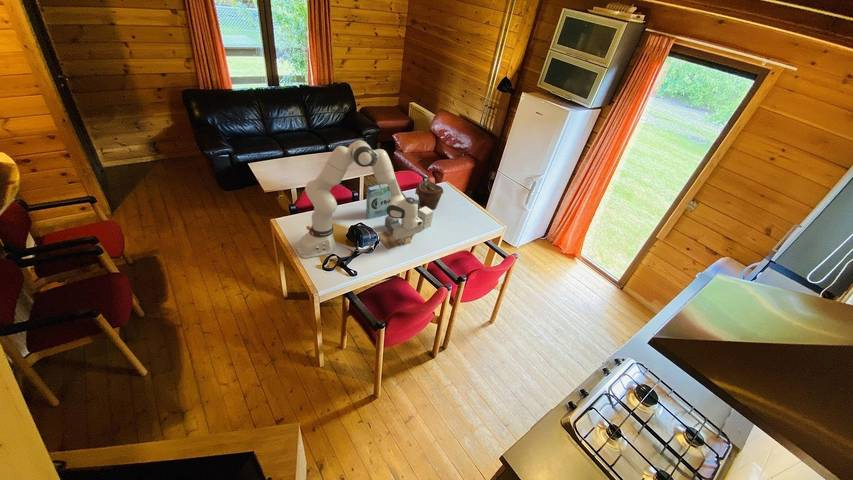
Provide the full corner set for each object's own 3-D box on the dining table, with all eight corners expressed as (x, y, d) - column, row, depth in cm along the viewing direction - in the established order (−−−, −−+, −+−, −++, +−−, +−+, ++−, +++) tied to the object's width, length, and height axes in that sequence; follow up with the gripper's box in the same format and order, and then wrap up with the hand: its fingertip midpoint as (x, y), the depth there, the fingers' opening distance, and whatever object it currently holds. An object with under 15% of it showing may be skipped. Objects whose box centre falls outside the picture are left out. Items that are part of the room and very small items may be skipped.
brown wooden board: (388, 249, 223) (388, 248, 222) (375, 235, 232) (375, 234, 232) (400, 245, 227) (400, 244, 227) (387, 231, 237) (387, 230, 237)
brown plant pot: (415, 197, 275) (418, 176, 264) (441, 202, 275) (445, 181, 264) (411, 209, 261) (414, 188, 250) (439, 215, 261) (443, 193, 250)
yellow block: (410, 242, 231) (410, 237, 228) (405, 244, 228) (405, 239, 226) (399, 232, 238) (400, 227, 235) (394, 234, 235) (395, 229, 233)
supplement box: (415, 224, 247) (418, 209, 239) (423, 221, 252) (425, 205, 244) (423, 230, 243) (426, 214, 236) (431, 226, 248) (433, 210, 240)
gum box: (390, 209, 258) (393, 181, 244) (394, 213, 254) (396, 184, 241) (365, 215, 248) (366, 186, 234) (368, 219, 245) (370, 190, 231)
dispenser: (402, 233, 237) (404, 221, 231) (394, 236, 234) (395, 224, 228) (393, 223, 244) (394, 212, 239) (384, 226, 241) (385, 214, 235)
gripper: (397, 229, 214) (395, 248, 222) (425, 221, 224) (422, 238, 233) (391, 224, 217) (389, 242, 226) (419, 215, 228) (416, 233, 237)
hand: (406, 240), depth 229 cm, fingers closed on yellow block, 4 cm apart
